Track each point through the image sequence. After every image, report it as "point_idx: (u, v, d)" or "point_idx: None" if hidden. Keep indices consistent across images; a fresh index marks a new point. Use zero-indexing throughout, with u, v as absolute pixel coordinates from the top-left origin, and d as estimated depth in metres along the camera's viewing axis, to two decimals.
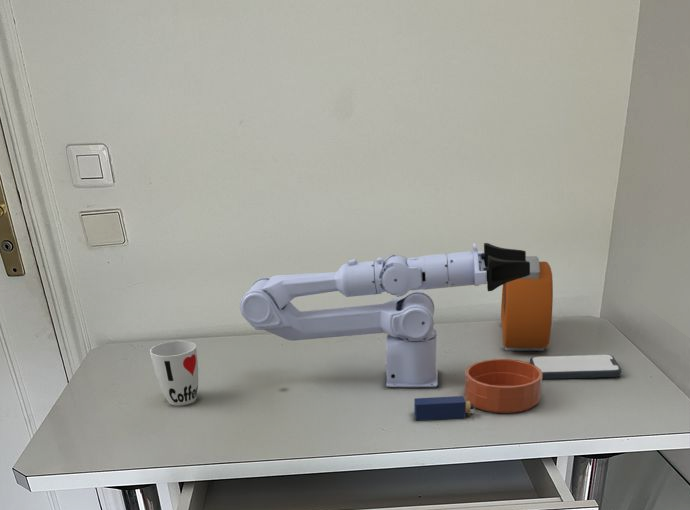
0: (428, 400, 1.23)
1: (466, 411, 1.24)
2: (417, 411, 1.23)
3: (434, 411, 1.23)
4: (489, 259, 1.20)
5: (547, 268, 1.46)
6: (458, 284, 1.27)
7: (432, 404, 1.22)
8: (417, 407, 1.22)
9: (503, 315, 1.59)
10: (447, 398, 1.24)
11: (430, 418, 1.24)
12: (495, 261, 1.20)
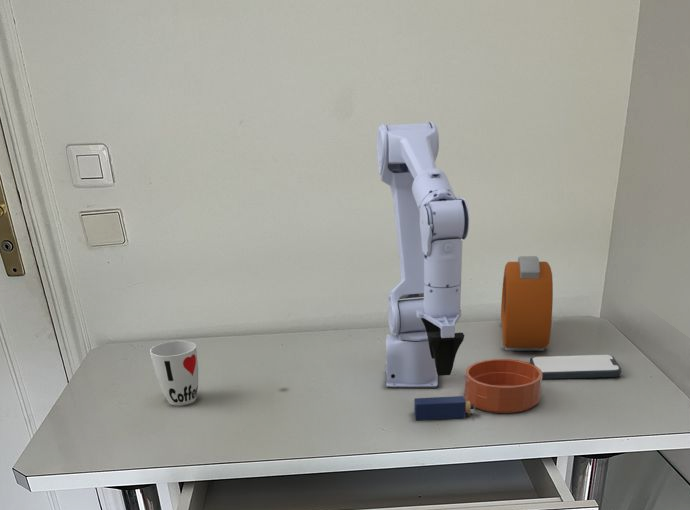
0: (428, 400, 1.23)
1: (466, 411, 1.24)
2: (417, 411, 1.23)
3: (434, 411, 1.23)
4: None
5: (547, 268, 1.46)
6: None
7: (432, 404, 1.22)
8: (417, 407, 1.22)
9: (503, 315, 1.59)
10: (447, 398, 1.24)
11: (430, 418, 1.24)
12: None
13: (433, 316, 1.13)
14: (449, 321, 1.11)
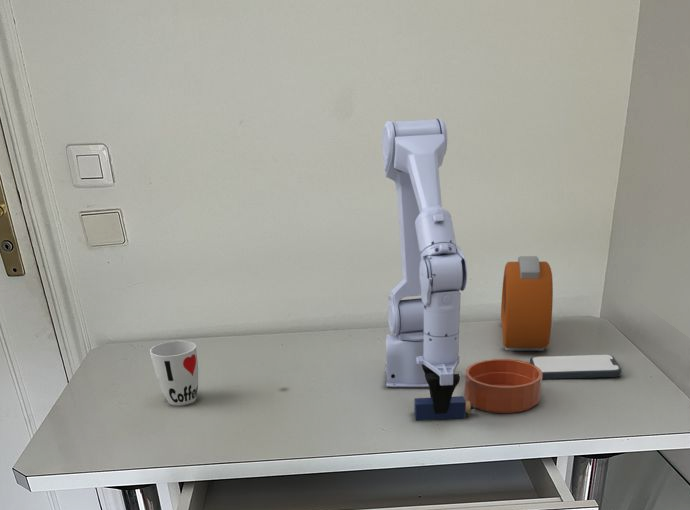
0: (428, 400, 1.23)
1: (466, 411, 1.24)
2: (417, 411, 1.23)
3: (434, 411, 1.23)
4: None
5: (547, 268, 1.46)
6: None
7: (432, 404, 1.22)
8: (417, 407, 1.22)
9: (503, 315, 1.59)
10: None
11: (430, 418, 1.23)
12: None
13: (432, 363, 1.17)
14: (448, 369, 1.15)
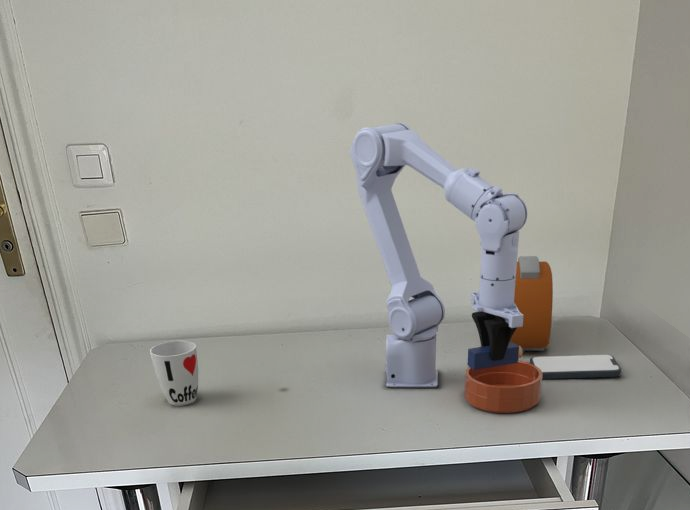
0: (483, 349, 1.24)
1: (518, 356, 1.25)
2: (475, 360, 1.23)
3: None
4: (472, 314, 1.24)
5: (547, 268, 1.46)
6: None
7: (489, 351, 1.23)
8: (476, 356, 1.22)
9: None
10: None
11: (487, 366, 1.24)
12: (474, 319, 1.24)
13: (494, 308, 1.18)
14: (513, 312, 1.16)
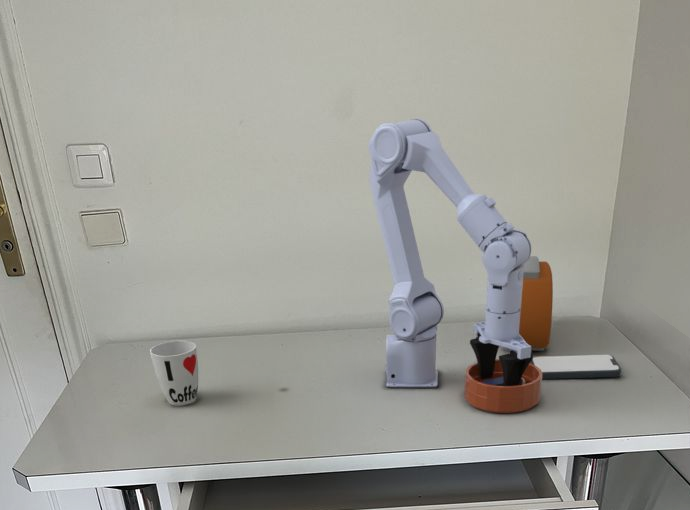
0: (489, 382, 1.27)
1: None
2: None
3: None
4: (470, 341, 1.29)
5: (547, 268, 1.46)
6: None
7: (496, 385, 1.27)
8: None
9: None
10: None
11: None
12: (472, 346, 1.29)
13: (501, 340, 1.21)
14: (520, 343, 1.20)
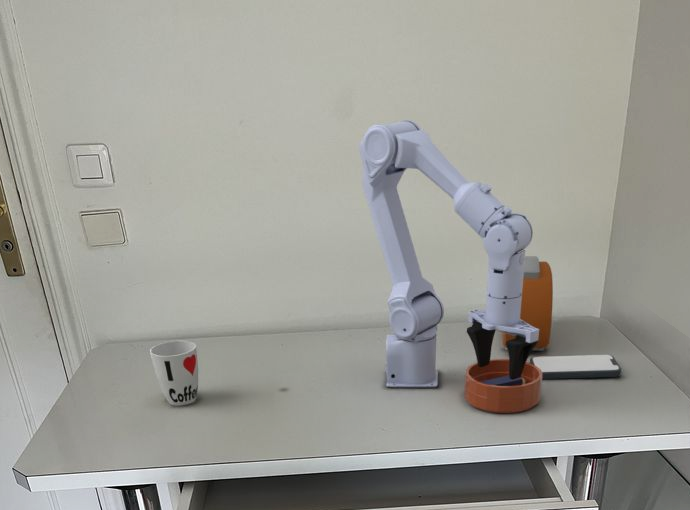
0: (489, 382, 1.27)
1: None
2: None
3: None
4: (467, 329, 1.26)
5: (547, 268, 1.46)
6: None
7: (496, 385, 1.27)
8: None
9: None
10: (503, 378, 1.29)
11: None
12: (468, 334, 1.27)
13: (506, 325, 1.20)
14: None
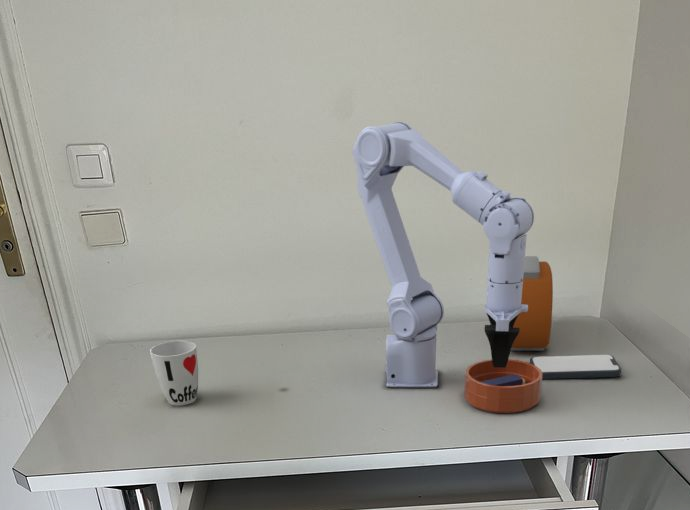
0: (489, 382, 1.27)
1: None
2: None
3: None
4: (518, 332, 1.17)
5: (547, 268, 1.46)
6: (491, 292, 1.19)
7: (496, 385, 1.27)
8: None
9: None
10: (503, 378, 1.29)
11: None
12: (515, 337, 1.18)
13: None
14: None
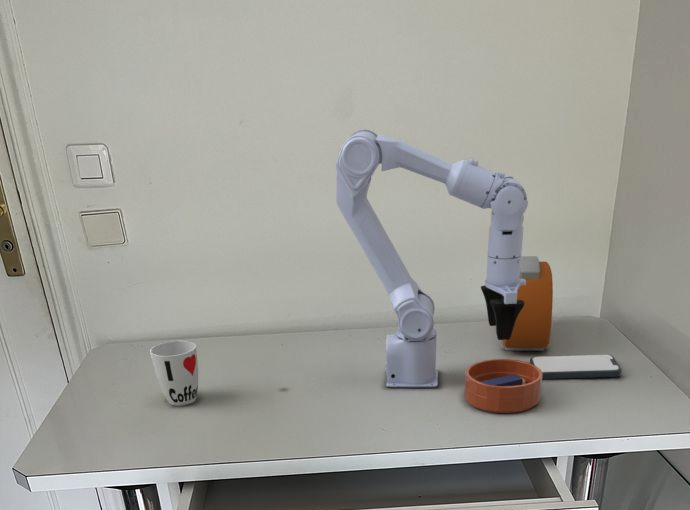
0: (489, 382, 1.27)
1: None
2: None
3: None
4: (523, 304, 1.24)
5: (547, 268, 1.46)
6: (493, 268, 1.24)
7: (496, 385, 1.27)
8: None
9: None
10: (503, 378, 1.29)
11: None
12: (520, 309, 1.24)
13: None
14: None
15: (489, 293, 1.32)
